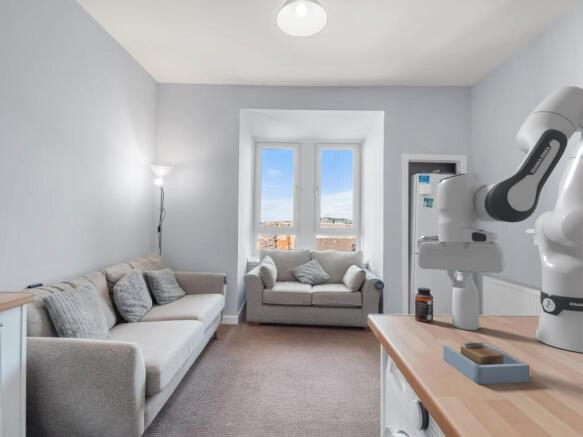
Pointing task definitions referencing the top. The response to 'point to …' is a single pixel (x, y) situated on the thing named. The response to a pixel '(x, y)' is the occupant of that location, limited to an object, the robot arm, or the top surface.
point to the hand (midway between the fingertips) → (459, 287)
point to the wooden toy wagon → (481, 354)
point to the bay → (488, 368)
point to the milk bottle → (465, 305)
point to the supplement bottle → (424, 305)
